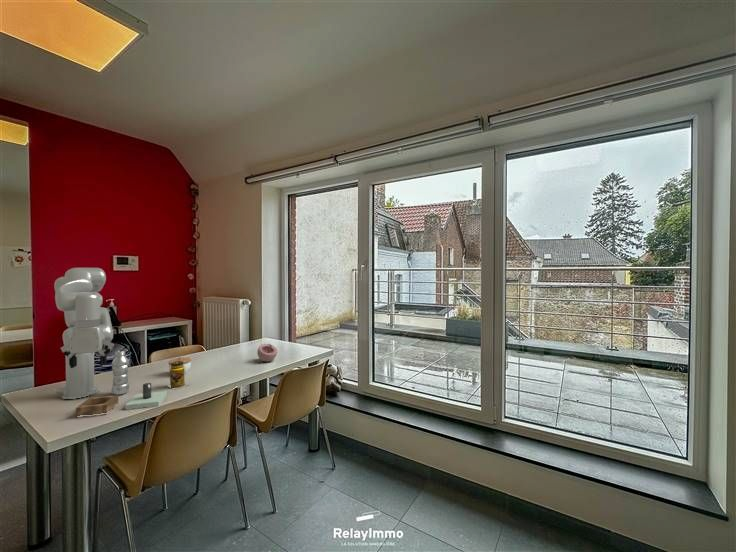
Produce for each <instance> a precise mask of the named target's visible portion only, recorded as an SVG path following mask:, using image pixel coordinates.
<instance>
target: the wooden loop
mask: <svg viewBox="0 0 736 552" xmlns="http://www.w3.org/2000/svg"><path fill="white" fill-rule="evenodd" d="M116 404H118V405H119V395H114V394H113V395H106V396H95V397H94V396H93V397H89V398H87V399H86V400H85V401H83V402H82V403H81V404H79V405H78V406H76V407H75V417H76V416H80V415H93V414H101V413H107V412H108V411H110V410H111V409H112V408H113V407H114V406H115V405H116ZM110 412H111V411H110Z"/></svg>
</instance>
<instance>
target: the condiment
mask: <svg viewBox="0 0 736 552" xmlns="http://www.w3.org/2000/svg"><path fill="white" fill-rule="evenodd" d="M183 366H184V365H183V362H182V361H177V362H173V363H171V369H170V370H169V377H170V378H169V380H170V381H169V385H171V388H176V389H172V390H174V391H175V390H178V389H181V388H184V387H186V386H189V383H188V384H187V383H185V375H184V367H183ZM166 386H167V387H166V388H168V385H166Z"/></svg>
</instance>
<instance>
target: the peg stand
mask: <svg viewBox="0 0 736 552" xmlns="http://www.w3.org/2000/svg"><path fill="white" fill-rule="evenodd" d="M167 397H168V391H167V390H165V391H164V390H163V391H154V392H152V382H146V383H143V384H142V392H141V393H136V394H135V395H134V396H133V397H132V398H131V399H130V400H129V401H128V402H126V403H125V404H124V410H125V409H129V410H133V409H132V408H138V409H144V408H143V407H147V408H155V407H156V408H157V407H160V405H161V404H162V403H163V401H164V400H165V399H166V398H167ZM161 402H162V403H161Z"/></svg>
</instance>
